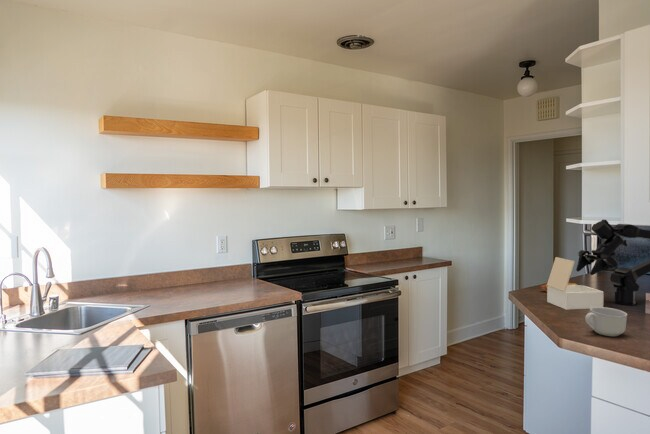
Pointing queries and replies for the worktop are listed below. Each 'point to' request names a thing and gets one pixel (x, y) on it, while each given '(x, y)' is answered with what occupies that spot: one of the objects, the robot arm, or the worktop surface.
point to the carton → (575, 297)
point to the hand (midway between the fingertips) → (583, 272)
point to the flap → (560, 273)
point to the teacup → (606, 321)
